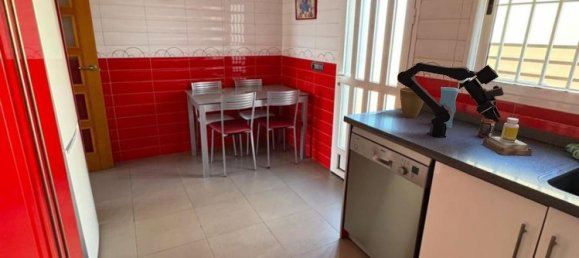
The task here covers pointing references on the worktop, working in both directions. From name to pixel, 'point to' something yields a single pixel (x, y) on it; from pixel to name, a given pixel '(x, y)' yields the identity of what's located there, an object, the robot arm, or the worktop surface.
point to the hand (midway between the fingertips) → (498, 119)
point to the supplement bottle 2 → (510, 130)
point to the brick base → (506, 151)
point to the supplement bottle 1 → (486, 127)
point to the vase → (449, 101)
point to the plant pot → (410, 103)
